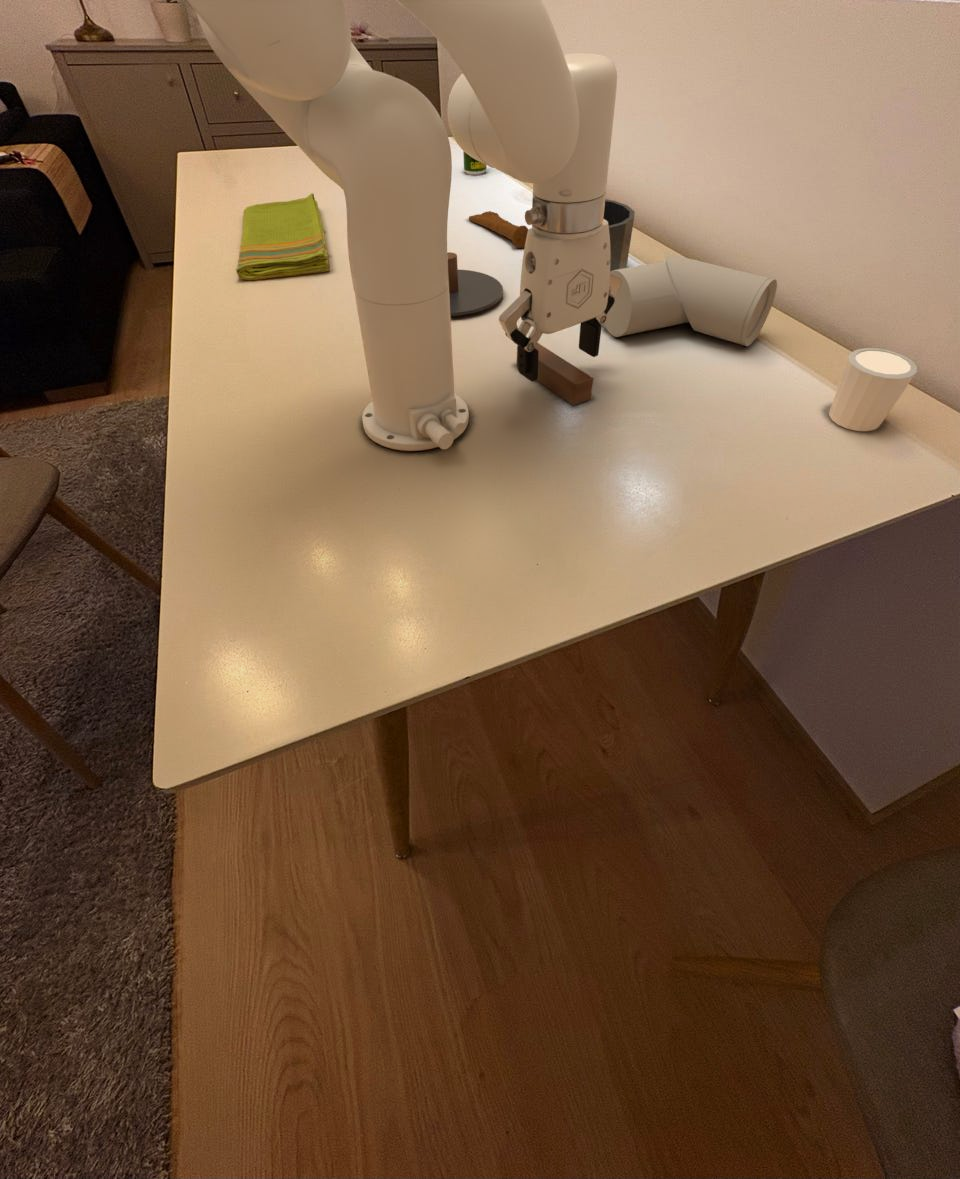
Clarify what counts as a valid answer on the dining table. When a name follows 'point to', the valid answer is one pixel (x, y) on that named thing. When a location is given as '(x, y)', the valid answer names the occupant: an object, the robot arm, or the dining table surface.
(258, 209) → the dish towel
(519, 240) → the primitive tool
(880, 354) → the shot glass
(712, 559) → the dining table surface
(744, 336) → the l-shaped cylinder
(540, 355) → the stick
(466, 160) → the green drink can
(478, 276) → the lid
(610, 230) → the pot
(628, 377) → the dining table surface
